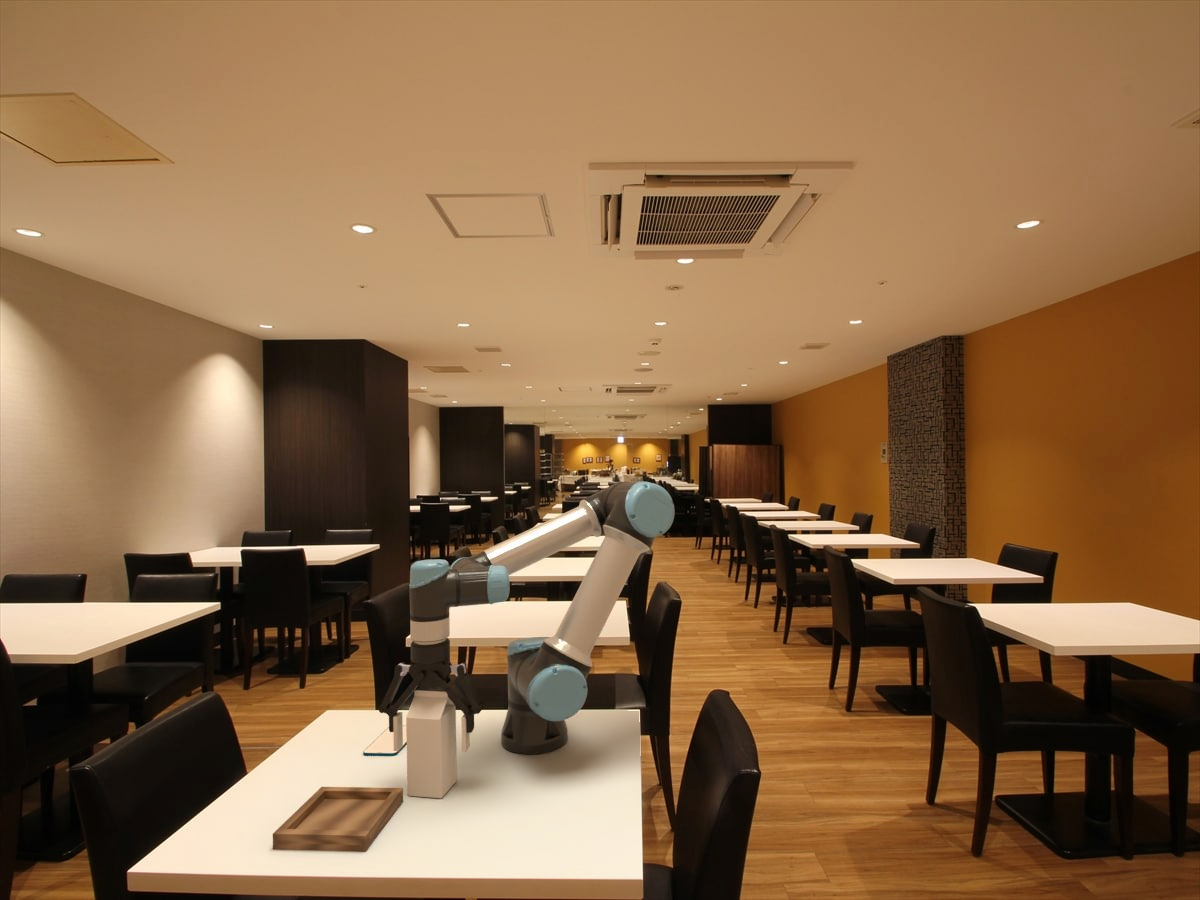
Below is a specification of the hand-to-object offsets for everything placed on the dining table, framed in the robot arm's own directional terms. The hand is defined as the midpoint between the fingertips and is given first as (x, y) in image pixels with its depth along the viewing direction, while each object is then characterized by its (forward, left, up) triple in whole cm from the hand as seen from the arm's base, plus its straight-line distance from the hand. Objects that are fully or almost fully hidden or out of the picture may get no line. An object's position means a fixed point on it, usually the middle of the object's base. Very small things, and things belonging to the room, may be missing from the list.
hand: (431, 748), depth 128 cm
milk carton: (0, 0, -8) cm, 8 cm away
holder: (+12, +13, -8) cm, 19 cm away
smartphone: (+17, -22, -8) cm, 29 cm away
